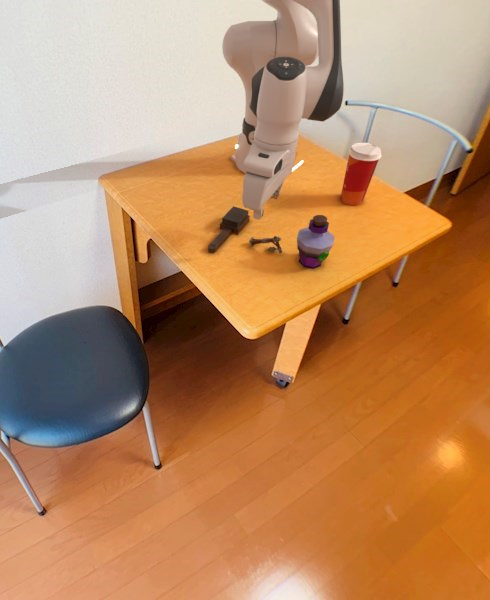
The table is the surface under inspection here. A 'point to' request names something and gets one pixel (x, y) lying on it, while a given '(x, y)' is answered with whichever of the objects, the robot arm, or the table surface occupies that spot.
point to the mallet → (230, 227)
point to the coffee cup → (359, 172)
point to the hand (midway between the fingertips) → (266, 207)
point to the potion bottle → (314, 242)
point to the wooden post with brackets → (267, 240)
